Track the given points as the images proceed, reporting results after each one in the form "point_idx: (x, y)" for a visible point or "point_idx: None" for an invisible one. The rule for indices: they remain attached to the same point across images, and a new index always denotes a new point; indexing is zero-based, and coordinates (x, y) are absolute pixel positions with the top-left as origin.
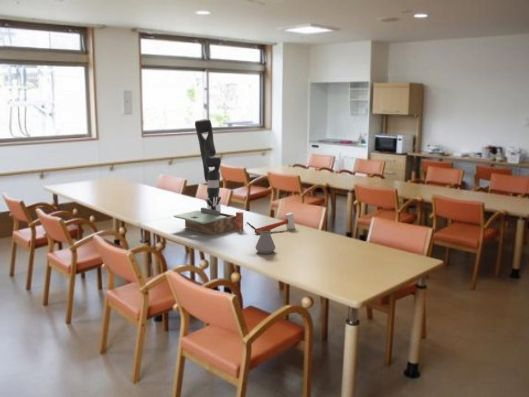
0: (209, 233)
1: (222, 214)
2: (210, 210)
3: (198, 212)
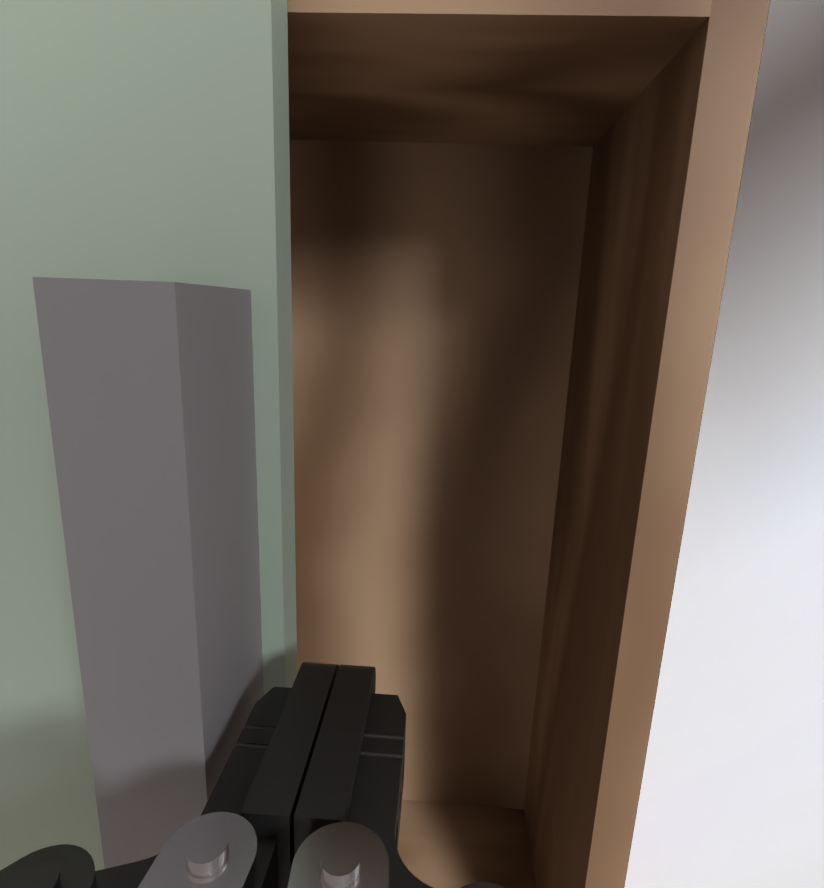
0: None
1: (599, 725)
2: (109, 808)
3: (69, 239)
